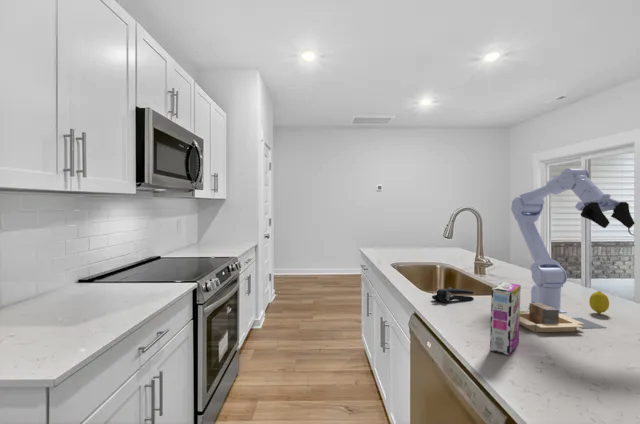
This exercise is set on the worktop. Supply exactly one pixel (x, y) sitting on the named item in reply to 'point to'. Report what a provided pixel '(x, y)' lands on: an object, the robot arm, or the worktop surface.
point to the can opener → (446, 297)
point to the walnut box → (543, 314)
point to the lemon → (599, 302)
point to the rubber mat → (588, 324)
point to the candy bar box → (505, 318)
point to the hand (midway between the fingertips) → (619, 225)
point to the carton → (563, 325)
